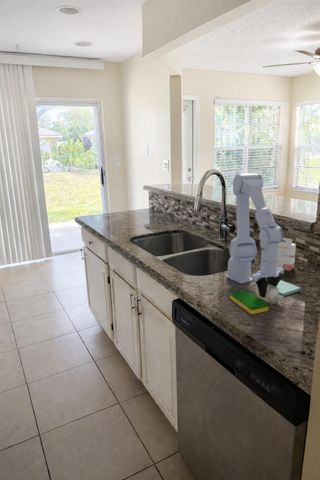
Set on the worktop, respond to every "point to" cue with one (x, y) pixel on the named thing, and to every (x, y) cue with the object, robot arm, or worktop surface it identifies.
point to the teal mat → (286, 288)
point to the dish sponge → (249, 302)
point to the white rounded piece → (270, 294)
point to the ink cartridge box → (286, 254)
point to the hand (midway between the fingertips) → (266, 295)
